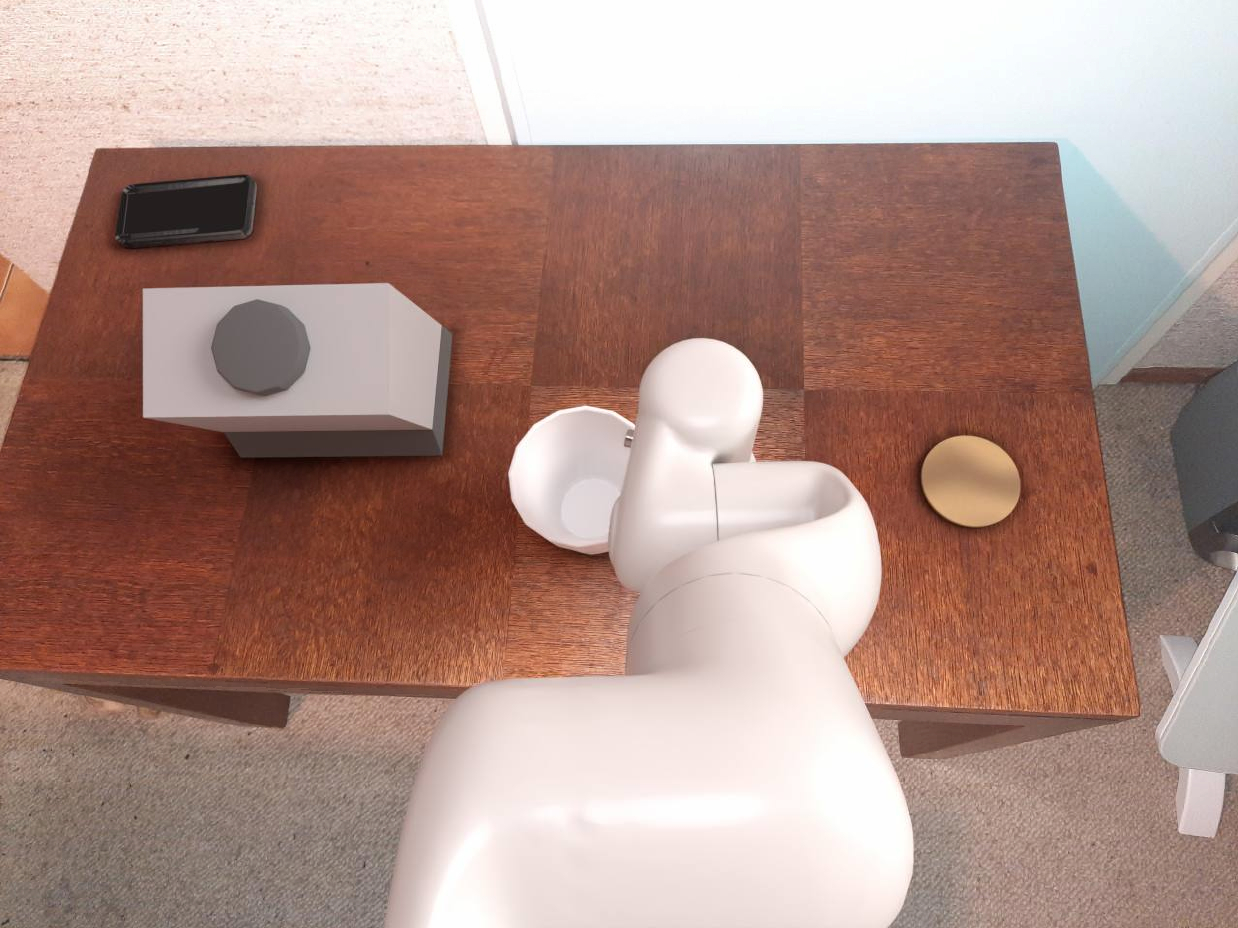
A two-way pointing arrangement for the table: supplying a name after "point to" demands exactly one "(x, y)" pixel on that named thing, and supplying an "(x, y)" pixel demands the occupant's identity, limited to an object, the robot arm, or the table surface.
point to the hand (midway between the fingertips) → (691, 524)
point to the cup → (571, 476)
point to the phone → (186, 211)
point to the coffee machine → (298, 368)
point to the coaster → (970, 481)
